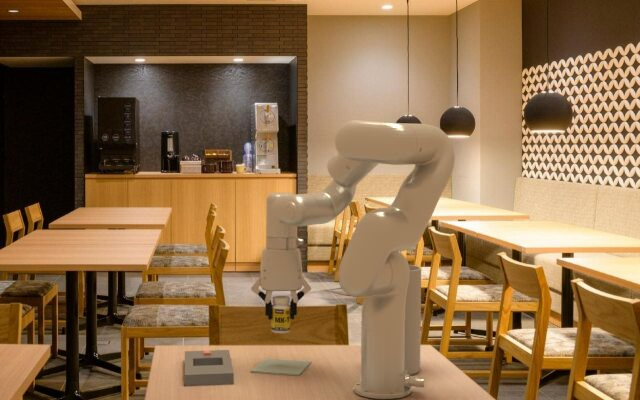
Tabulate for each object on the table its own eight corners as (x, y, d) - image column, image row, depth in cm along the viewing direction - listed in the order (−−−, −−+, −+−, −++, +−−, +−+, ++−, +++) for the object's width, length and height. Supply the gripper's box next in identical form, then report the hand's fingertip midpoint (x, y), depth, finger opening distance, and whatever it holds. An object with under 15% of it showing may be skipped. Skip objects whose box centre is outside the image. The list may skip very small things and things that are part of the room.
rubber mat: (311, 362, 211) (311, 361, 211) (299, 375, 199) (299, 374, 199) (265, 360, 214) (265, 358, 214) (250, 372, 202) (250, 370, 202)
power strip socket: (184, 361, 212) (184, 348, 212) (228, 359, 214) (228, 347, 214) (184, 385, 191) (184, 372, 190) (233, 383, 192) (233, 370, 192)
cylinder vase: (368, 377, 198) (369, 271, 197) (367, 363, 211) (368, 263, 209) (422, 377, 198) (423, 271, 196) (417, 364, 210) (418, 264, 209)
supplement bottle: (273, 334, 203) (273, 299, 203) (269, 329, 208) (269, 295, 207) (292, 333, 205) (292, 298, 204) (288, 328, 209) (288, 295, 208)
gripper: (314, 241, 209) (313, 314, 211) (245, 242, 207) (245, 315, 209) (318, 245, 202) (317, 321, 203) (246, 246, 200) (246, 322, 201)
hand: (280, 317), depth 206 cm, fingers closed on supplement bottle, 4 cm apart
